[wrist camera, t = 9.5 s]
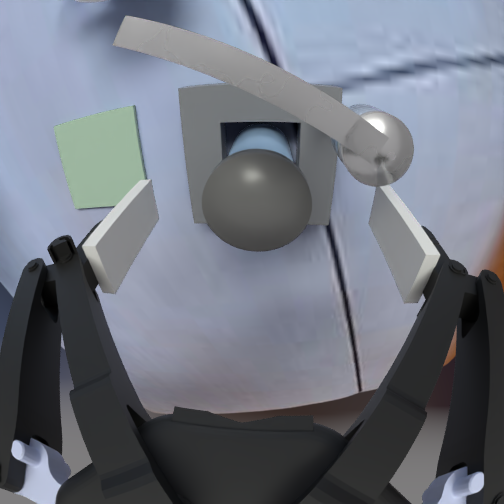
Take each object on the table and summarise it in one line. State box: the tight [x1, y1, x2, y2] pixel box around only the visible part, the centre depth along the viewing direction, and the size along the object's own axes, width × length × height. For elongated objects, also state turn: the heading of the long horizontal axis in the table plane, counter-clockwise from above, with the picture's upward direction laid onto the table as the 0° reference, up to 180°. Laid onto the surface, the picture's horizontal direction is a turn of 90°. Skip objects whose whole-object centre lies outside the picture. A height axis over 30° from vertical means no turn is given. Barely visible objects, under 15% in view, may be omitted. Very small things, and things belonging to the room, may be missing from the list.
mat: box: [54, 105, 147, 209], centre depth 23 cm, size 10×10×1 cm
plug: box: [202, 123, 312, 251], centre depth 18 cm, size 6×6×10 cm
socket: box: [178, 83, 348, 225], centre depth 18 cm, size 12×12×12 cm
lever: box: [113, 16, 414, 187], centre depth 8 cm, size 11×3×2 cm, turn 63°
